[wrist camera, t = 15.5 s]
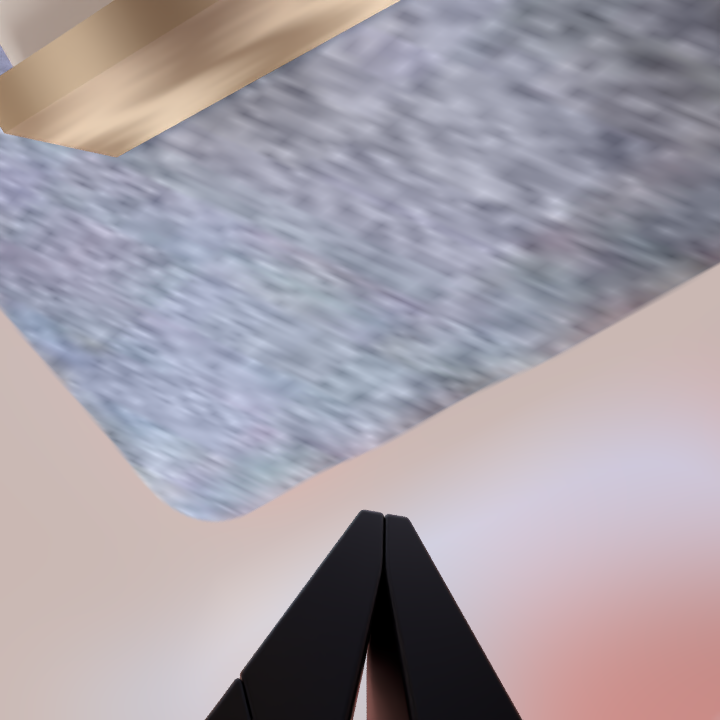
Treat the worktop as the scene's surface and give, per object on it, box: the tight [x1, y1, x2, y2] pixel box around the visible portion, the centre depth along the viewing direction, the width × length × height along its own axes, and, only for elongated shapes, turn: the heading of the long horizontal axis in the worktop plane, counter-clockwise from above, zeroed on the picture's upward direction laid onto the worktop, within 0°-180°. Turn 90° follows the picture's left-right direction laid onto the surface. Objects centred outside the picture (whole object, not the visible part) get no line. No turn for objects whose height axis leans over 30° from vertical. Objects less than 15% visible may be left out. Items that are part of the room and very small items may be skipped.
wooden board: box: [0, 0, 400, 157], centre depth 13 cm, size 13×1×5 cm, turn 113°
